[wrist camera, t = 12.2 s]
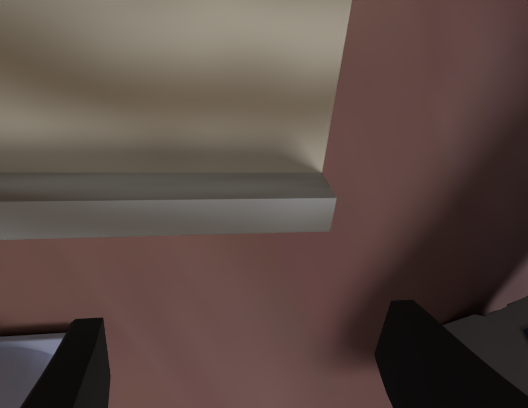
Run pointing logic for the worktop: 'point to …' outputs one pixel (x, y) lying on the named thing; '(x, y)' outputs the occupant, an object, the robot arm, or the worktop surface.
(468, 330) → the gun
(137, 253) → the worktop surface
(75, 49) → the board
